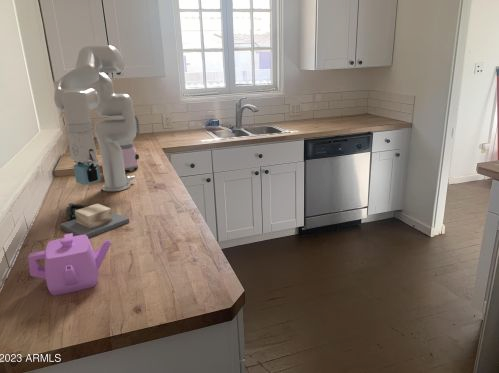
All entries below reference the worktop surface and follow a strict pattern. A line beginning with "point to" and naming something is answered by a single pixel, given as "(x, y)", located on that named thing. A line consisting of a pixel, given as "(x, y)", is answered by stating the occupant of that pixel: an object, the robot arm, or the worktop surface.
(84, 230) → the stacking base
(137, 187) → the worktop surface
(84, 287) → the teakettle
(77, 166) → the teal block
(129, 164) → the blender
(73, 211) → the chocolate cake
